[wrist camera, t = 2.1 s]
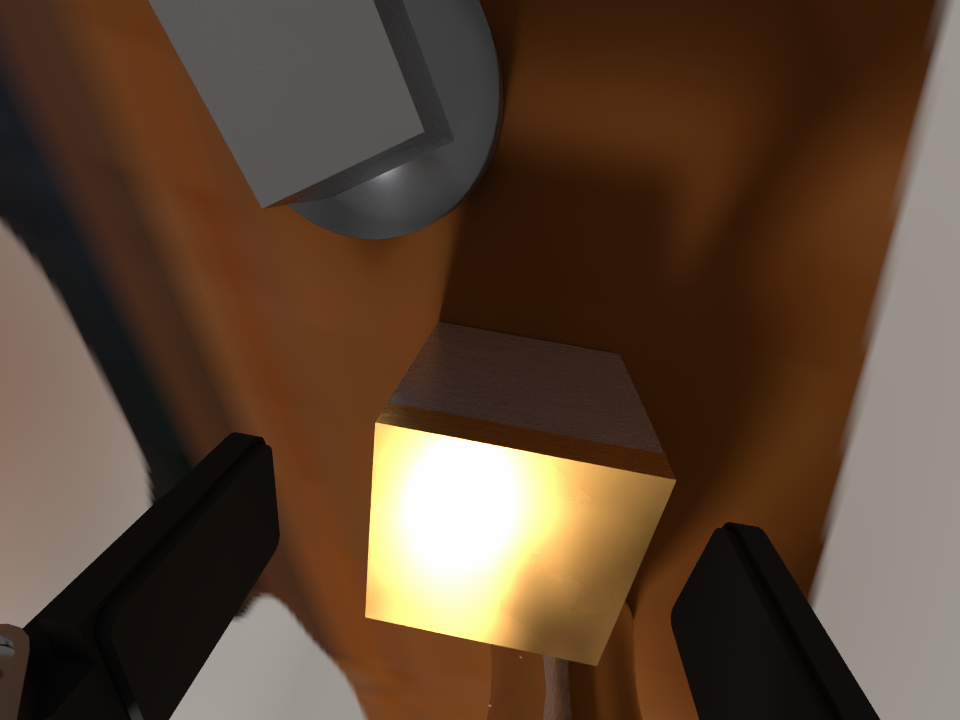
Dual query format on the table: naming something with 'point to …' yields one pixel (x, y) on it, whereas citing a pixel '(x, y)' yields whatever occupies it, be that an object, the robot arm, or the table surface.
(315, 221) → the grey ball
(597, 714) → the beer glass
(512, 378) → the wooden tan cube
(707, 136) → the table surface
